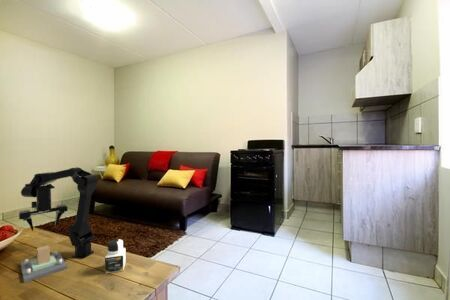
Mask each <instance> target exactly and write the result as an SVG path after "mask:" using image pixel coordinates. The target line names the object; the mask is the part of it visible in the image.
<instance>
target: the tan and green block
mask: <svg viewBox="0 0 450 300" xmlns="http://www.w3.org/2000/svg"><path fill="white" fill-rule="evenodd" d="M50 254H51V248H50V246H49V245H45V246H44V245H43V246H40V247H37V248H36V258H37V260H35V261H31V266H32V270H33V271H36V270H39V269H42V268H45V267H49V266H52V265H55V264H57V261H56V259H55V257H54V255H52V256H50Z"/></svg>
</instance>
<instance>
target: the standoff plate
mask: <svg viewBox="0 0 450 300" xmlns="http://www.w3.org/2000/svg"><path fill="white" fill-rule="evenodd" d="M52 255H54V257H55V259H56V261H57V264H55V265H52V266H49V267H45V268H42V269H39V270H36V271H33V270H32V266H31V261H35V260H37V257H36V258H33V259H28V258H26V259H24V261H21V262H20V269H21V273H22V278H23V279H22V280H23V283H27V282H31V281H33V280H36V279H39V278H42V277H45V276H48V275H51V274H53V273H57V272H60V271H63V270H66V269H68V265H67V263H66V261H65V260H64V258H63V256H62V255H61V253H60V251H58V250H55V251H54V252H53V253H50V256H52Z"/></svg>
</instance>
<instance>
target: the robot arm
mask: <svg viewBox="0 0 450 300" xmlns="http://www.w3.org/2000/svg"><path fill="white" fill-rule="evenodd" d="M68 177H69V178H70V177H71V180H72V181H73V182H74V183H75V184H76V185H77V187H76V188H77V190H78V192H79V198H78V203H77V211H76V216H75V222H74V223H72V224H70V225H69V227H68V232H67V234H68V238H69V240H70V243H71V246H73V247H74V254H73V255H72V257H73V258H77V259H85V258H86V257H88V256H91V254H94V252H95V251H94V250H92V240H94V239H95V236H96V235H95V234H94V232H92V231H91V229H90V228H91V227H90V224H89V222H88V220H89V219H88V218H89V213H90V207H91V201H92V195H93V192H94V191H95V190H96V188H97V185H98V183H99V178H98V177H97V176H96V174H95V175H94V174H92V173H91V172H89V171H86V170H83V169H82V167H79V166H77V167H70V168H67V169H64V170H59V171H55V172H54V171H51V172H50V171H48V172H41V173H36V174H34V176H33V178H32V180H31V181H30V182H29V183H25V184H24V187H23V188H22V189H21V191H20V194H21V196H22V197H24V198H36V200H35V201H31V209H35V210H32V211H31V210H30V209H26V210H21V211H19V212H18V218H19V220H22V221H26V222H27V224H28V225H29V228H30V229H31V231H32V232H34V225H33V220H32V216H34V215H40V214H41V215H43V214H46V213H53V212H55V221H54V226H55V227H57V225H58V223H59V221H60V219H61V217H62V215H63V214H65V212H68V209H69V208H68V205H66V204H57V205H56V207H52V189H56V188H55V186H54V185H52V183H54V182H56V181H57V180H60V179H64V178H68Z"/></svg>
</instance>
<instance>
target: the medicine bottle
mask: <svg viewBox="0 0 450 300" xmlns="http://www.w3.org/2000/svg"><path fill="white" fill-rule="evenodd" d="M126 256H127V252H126V247H124V241H123V239H119V238H118V239H117V238H116V239H112V240H111V241H110V240H109V242H108V243H107V252H106V254H105V257H104V273H105V274H111V273H117V272H123V271H124V270H125V266H126V260H127V258H126Z"/></svg>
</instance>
